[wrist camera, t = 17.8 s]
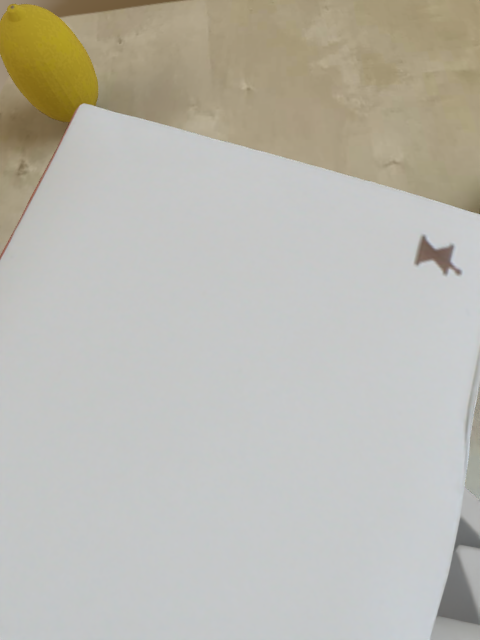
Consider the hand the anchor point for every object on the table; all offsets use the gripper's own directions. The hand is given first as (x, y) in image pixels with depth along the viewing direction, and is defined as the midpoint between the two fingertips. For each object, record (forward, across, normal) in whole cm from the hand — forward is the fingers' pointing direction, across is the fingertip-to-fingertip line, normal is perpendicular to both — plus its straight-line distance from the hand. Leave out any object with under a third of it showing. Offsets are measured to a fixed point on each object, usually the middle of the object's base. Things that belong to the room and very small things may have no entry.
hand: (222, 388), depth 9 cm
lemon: (+23, +17, -5) cm, 29 cm away
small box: (+5, 0, +6) cm, 8 cm away
